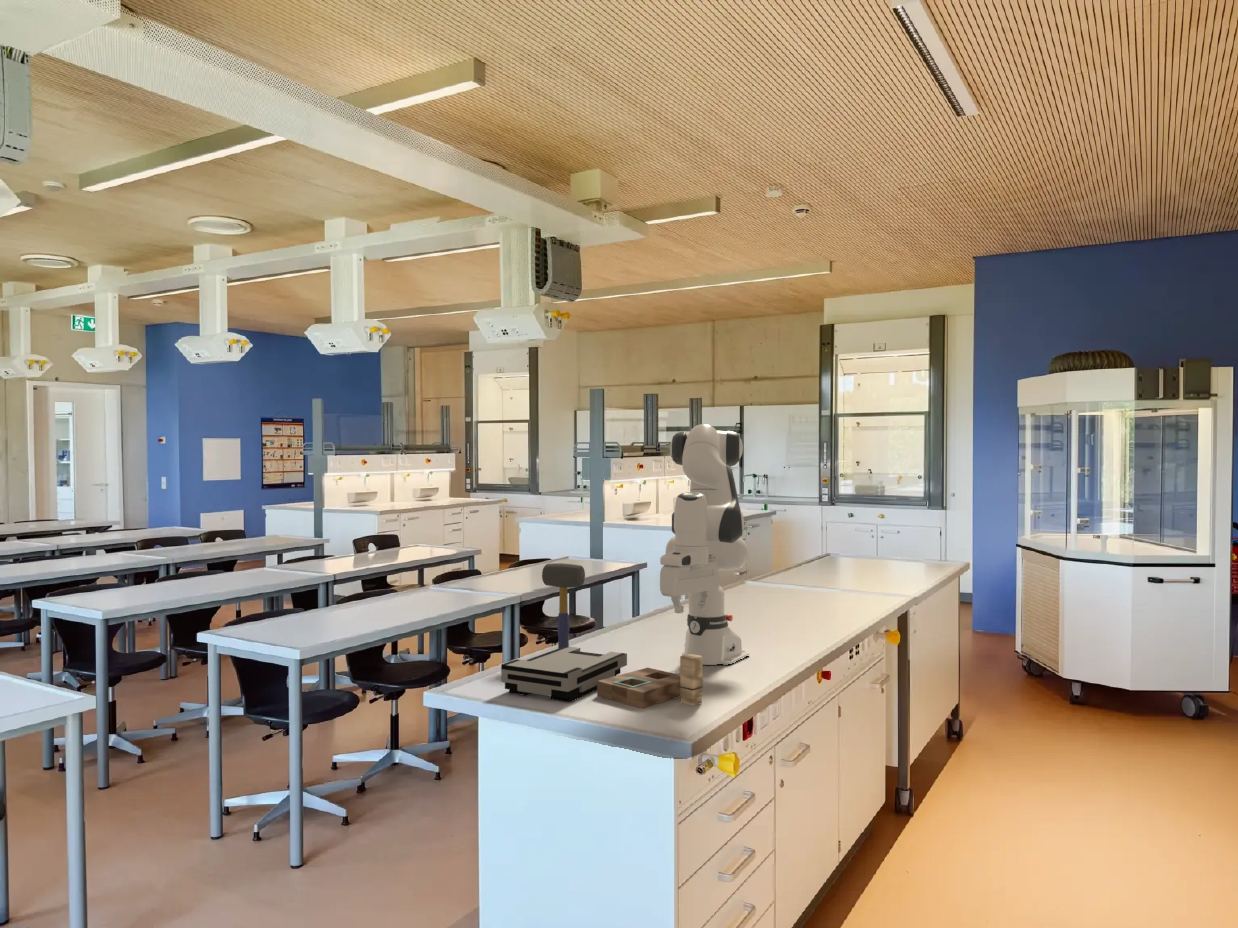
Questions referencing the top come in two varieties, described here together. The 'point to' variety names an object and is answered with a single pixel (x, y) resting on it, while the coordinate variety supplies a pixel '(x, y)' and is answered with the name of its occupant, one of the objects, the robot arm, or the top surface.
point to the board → (640, 687)
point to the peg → (691, 679)
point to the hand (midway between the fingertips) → (691, 610)
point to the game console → (561, 673)
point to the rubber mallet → (563, 592)
